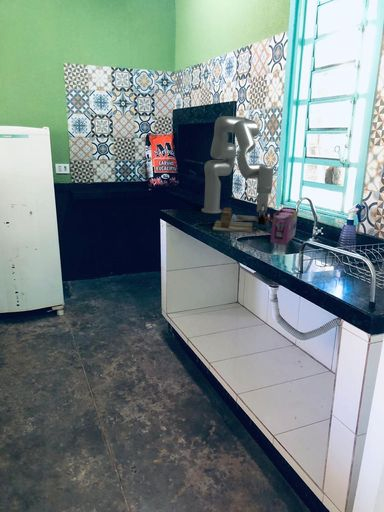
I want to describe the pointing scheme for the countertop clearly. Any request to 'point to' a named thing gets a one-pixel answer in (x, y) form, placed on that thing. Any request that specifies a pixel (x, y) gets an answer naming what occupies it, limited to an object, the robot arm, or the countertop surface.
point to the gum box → (284, 226)
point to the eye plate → (231, 223)
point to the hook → (254, 218)
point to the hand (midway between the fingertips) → (261, 222)
